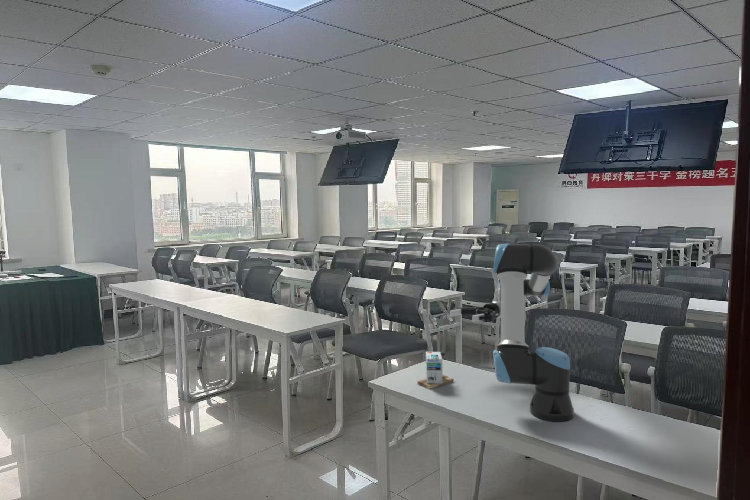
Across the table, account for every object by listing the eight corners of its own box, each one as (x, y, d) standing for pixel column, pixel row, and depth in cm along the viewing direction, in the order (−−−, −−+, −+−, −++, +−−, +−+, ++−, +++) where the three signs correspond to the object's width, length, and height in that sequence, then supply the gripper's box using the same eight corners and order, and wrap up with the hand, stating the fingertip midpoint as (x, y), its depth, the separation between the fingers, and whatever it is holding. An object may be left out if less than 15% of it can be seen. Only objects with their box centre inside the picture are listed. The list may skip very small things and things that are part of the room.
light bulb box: (442, 384, 208) (442, 359, 207) (426, 383, 209) (426, 358, 208) (441, 375, 219) (441, 351, 218) (425, 375, 219) (425, 351, 218)
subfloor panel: (453, 381, 214) (453, 378, 214) (429, 389, 206) (429, 386, 206) (441, 376, 220) (441, 374, 220) (417, 383, 212) (417, 381, 212)
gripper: (516, 323, 218) (483, 330, 206) (473, 314, 239) (441, 319, 226) (516, 306, 218) (483, 312, 206) (473, 298, 238) (441, 303, 226)
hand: (461, 316), depth 216 cm, fingers open, 13 cm apart
